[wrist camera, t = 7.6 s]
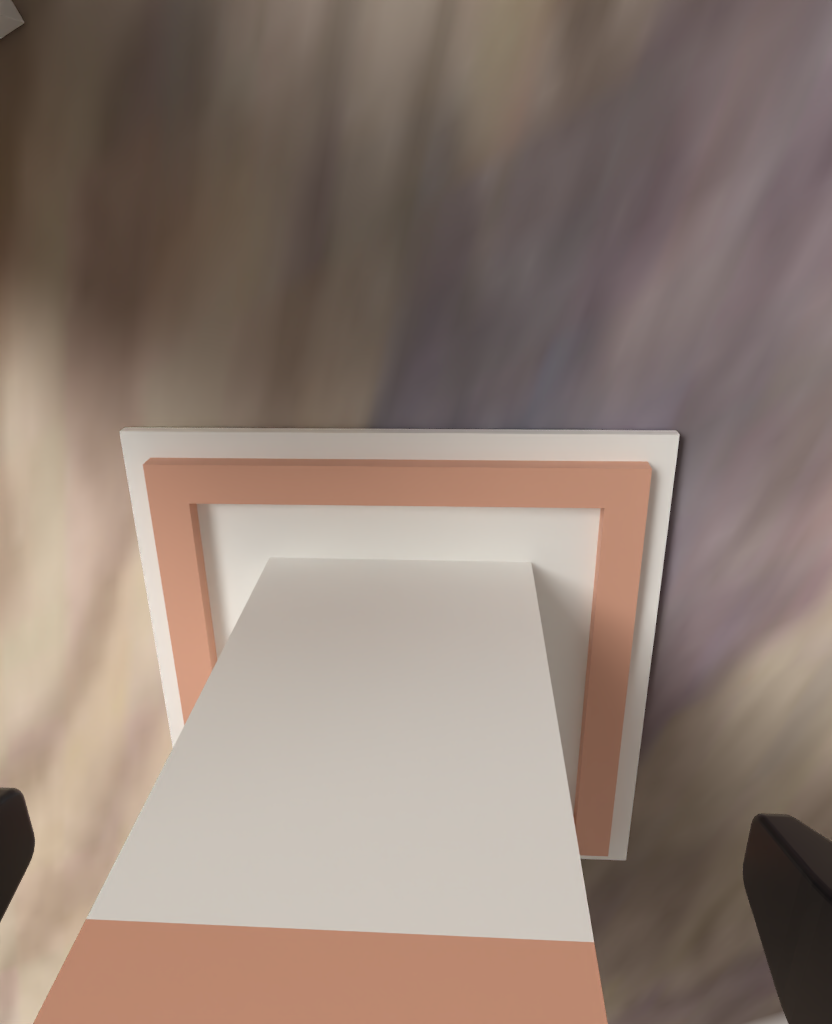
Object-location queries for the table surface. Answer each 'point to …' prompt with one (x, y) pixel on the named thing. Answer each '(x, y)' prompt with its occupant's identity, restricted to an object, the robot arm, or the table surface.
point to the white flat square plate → (426, 554)
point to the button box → (9, 17)
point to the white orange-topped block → (354, 820)
